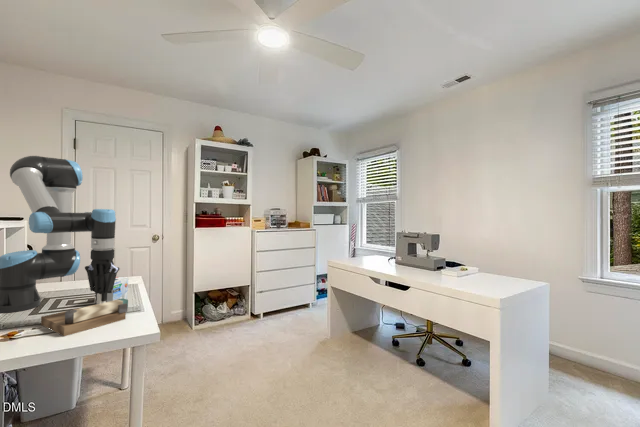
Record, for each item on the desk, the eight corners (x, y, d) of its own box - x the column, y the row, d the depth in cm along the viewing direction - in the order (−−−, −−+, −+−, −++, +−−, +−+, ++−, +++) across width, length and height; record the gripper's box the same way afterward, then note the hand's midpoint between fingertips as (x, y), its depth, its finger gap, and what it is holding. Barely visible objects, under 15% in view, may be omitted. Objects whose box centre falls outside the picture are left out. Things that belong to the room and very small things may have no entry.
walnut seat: (40, 324, 113) (41, 308, 113) (102, 310, 131) (103, 295, 131) (64, 336, 104) (65, 318, 104) (127, 318, 122) (127, 303, 122)
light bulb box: (112, 306, 136) (113, 282, 136) (97, 305, 136) (98, 281, 136) (128, 299, 146) (129, 277, 146) (114, 298, 147) (115, 276, 146)
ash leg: (68, 324, 106) (68, 313, 106) (62, 322, 108) (63, 311, 108) (127, 308, 125) (128, 299, 125) (122, 306, 126) (122, 297, 126)
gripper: (79, 249, 116) (77, 311, 117) (110, 251, 115) (108, 314, 115) (95, 246, 124) (93, 304, 124) (125, 248, 122) (123, 307, 123)
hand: (100, 309), depth 120 cm, fingers closed
